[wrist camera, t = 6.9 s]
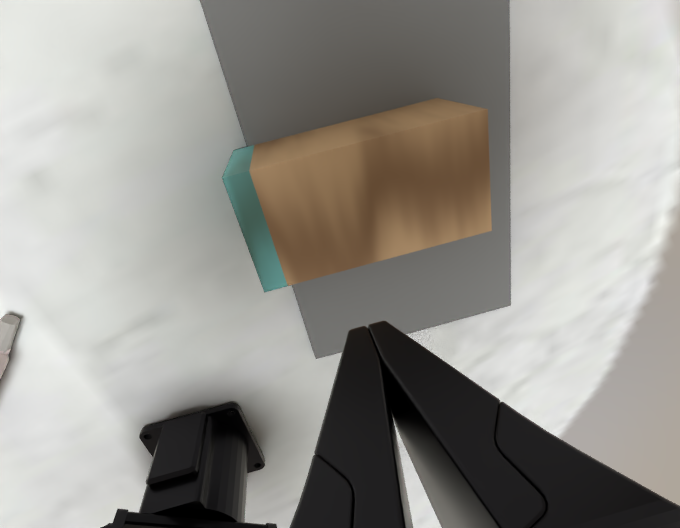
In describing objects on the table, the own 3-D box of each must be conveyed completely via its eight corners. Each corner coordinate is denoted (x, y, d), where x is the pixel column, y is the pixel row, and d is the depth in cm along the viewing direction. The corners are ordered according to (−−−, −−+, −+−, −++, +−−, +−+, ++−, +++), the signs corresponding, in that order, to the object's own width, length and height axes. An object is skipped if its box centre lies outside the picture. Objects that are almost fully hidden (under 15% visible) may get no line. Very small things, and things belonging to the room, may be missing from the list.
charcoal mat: (508, 302, 26) (510, 305, 25) (315, 356, 25) (315, 359, 25) (505, -91, 16) (508, -93, 16) (195, -17, 16) (194, -19, 15)
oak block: (265, 243, 21) (446, 195, 21) (264, 292, 16) (491, 230, 17) (233, 150, 18) (437, 97, 19) (221, 177, 14) (487, 108, 14)
